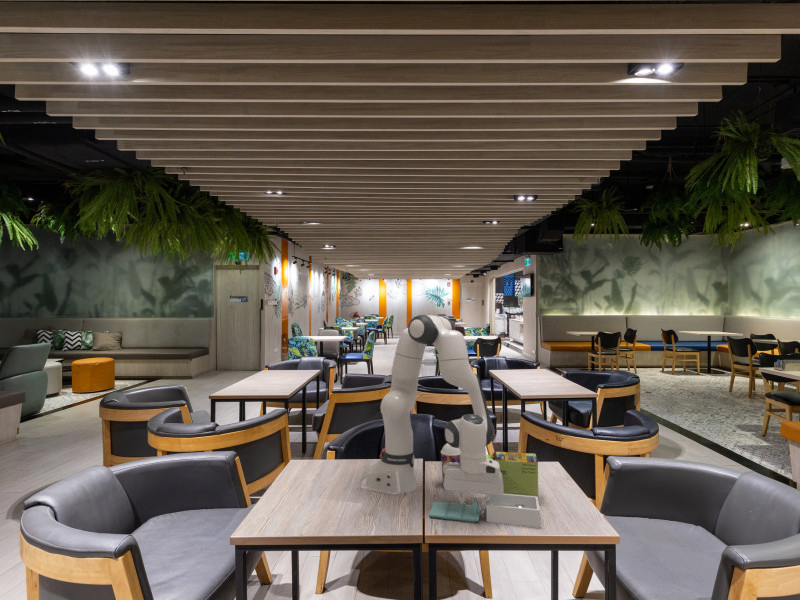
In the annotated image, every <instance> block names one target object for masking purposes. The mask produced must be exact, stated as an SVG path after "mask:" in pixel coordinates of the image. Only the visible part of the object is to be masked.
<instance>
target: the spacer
mask: <svg viewBox="0 0 800 600" xmlns="http://www.w3.org/2000/svg"><path fill="white" fill-rule="evenodd" d="M515 507H519V508H525V505H523V504H516V505H515Z"/></svg>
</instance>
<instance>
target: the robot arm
mask: <svg viewBox="0 0 800 600" xmlns="http://www.w3.org/2000/svg"><path fill="white" fill-rule="evenodd" d="M431 345H432V346H434V347H435V348H436V350H437V357H438V369H439V373H440V376H441V378H442V380H444V381H445V382H446V383H448V384H449V385H452V386H454V387H458V388H460V389H462V390H464V391H465V392H467V394H468V395H469V398H470V402H471V406H472V411H473V413H468V414H464V415H462V416H461V418H458V419H453V420H449V421H448V422H447V424H445V427H444V432H443V433H444V440H445V442H446V444H447V443H448V444H449V445H450V446H452V447H454V448H460V450H461V453H460V463H458V462H447V463H445V464H444V465H443V473H444V474H445V476H444V484H443V488H444V489H445V490H446V491H454V492H456V495H457V497H458V499H459V504H464V503H465V501H466V498H465V497H464V496H463V495H462V492H465V493H474V494H475V493H476V494H484V495H485V498H482V503H481V505H482V506H481V507H486V505H487V501H488V499H489V498H490V494H494V495H502V494H503V492H504V485H503V477H502V473H501V471H500V465H499V462H497V461H495V460H492V459H489V458H487V451H486V446H488V445H490V444H491V442H492V441H493V439H494V437H495V433H496V431H495V426H494V424H493V422H492V421H493V420H492V419H491V416H490V413H489V410H488V406H487V402H486V401H487V400H486V396H485V394H484V389H483V387H482V383H481V381H480V378H479V376H478V374H476V373H474V370H473V369H472V367H471V365H470V362H469V352H468V347H467V343H466V339H465V336H464V334H463V332H462V333H461V332H460V331H459V330H456V326H455V324H454V322H453V321H452V320H451V319H450V318H448V317H445V316H440V315H435V314H431V315H430V314H418V315H416V316H413V317H412V318H411V320H410V321H409V323H408V326H407V327H406V328H404V329H403V330H402V332H401V333H400V336H399V339H398V341H397V345H396V349H395V353H394V358H393V363H392V367H391V382H390V383H391V386H390V389H389V392H387V393H386V394H385V395H384V397H383V398H382V400H381V402H380V407H379V408H380V413H381V415H382V421H383V425H384V434H385V436H384V437H385V438H384V440H385V442H384V444H385V445H384V446H385V447H383V448H382V449H381V451H380V455H379V458H380V459H379V460H378V461H377V462H375V463H374V464H373V465H372V466H370V468H369V469H368V470H367V473H366V478H365V477H364V479H363V480H362V481H361V482H360V488H361V489H363V490H368V491H374V492H377V493H378V492H379V493H383V494H389V495H395V496H396V495H399V494H404V493H409V492H412V491H415V490H416V489H417V488H418V483H417V479H416V475H415V468H414V466H415V462H416V461H415V460H416V459H415V450H414V431H413V430H414V429H413V427H412V422H411V410H413V409H414V407H415V405H416V401H417V394H418V387H419V386H418V385H419V376H420V373H421V368H422V363H423V358H424V355H425V354H424V353H425V349H426V347H427V346H431ZM446 464H447V465H446ZM465 504H466V503H465Z"/></svg>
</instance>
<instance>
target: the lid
mask: <svg viewBox="0 0 800 600" xmlns="http://www.w3.org/2000/svg"><path fill="white" fill-rule="evenodd" d="M478 500H479V499H478V497H473V503H472V504H466V503H464V504H460V503H453V502H450V501H448V502H444V501H443V502H442V501H433V503H432V505H431V506H432V507H431V509H430V511H429V517H431V518H434V519H444V520H451V521H452V520H453V521H461V522H469V523H477V522H479V521H480V516H479V515H480V509H481V505H478Z"/></svg>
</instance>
